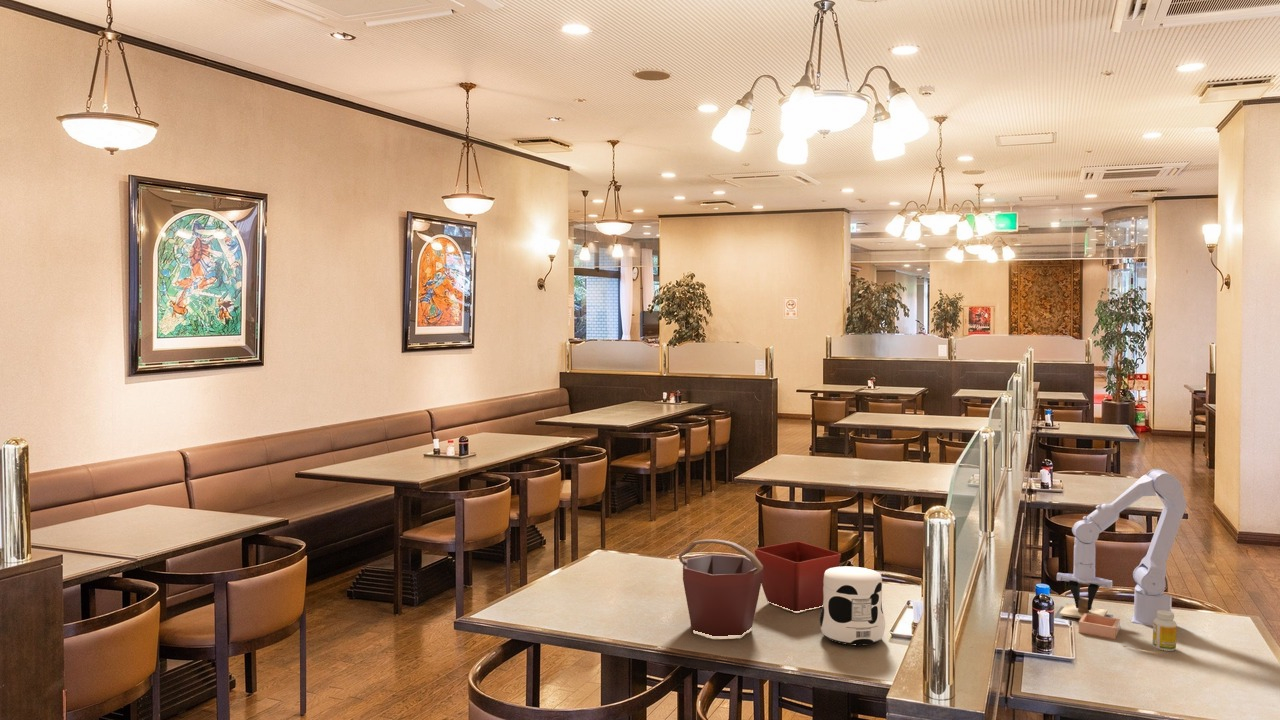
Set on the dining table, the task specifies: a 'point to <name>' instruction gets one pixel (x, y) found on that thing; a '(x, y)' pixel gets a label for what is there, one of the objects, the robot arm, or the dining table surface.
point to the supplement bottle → (1164, 631)
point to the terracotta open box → (1099, 626)
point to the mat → (1072, 617)
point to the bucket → (721, 589)
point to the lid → (1081, 610)
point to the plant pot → (795, 573)
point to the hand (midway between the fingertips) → (1083, 608)
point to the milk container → (852, 606)
